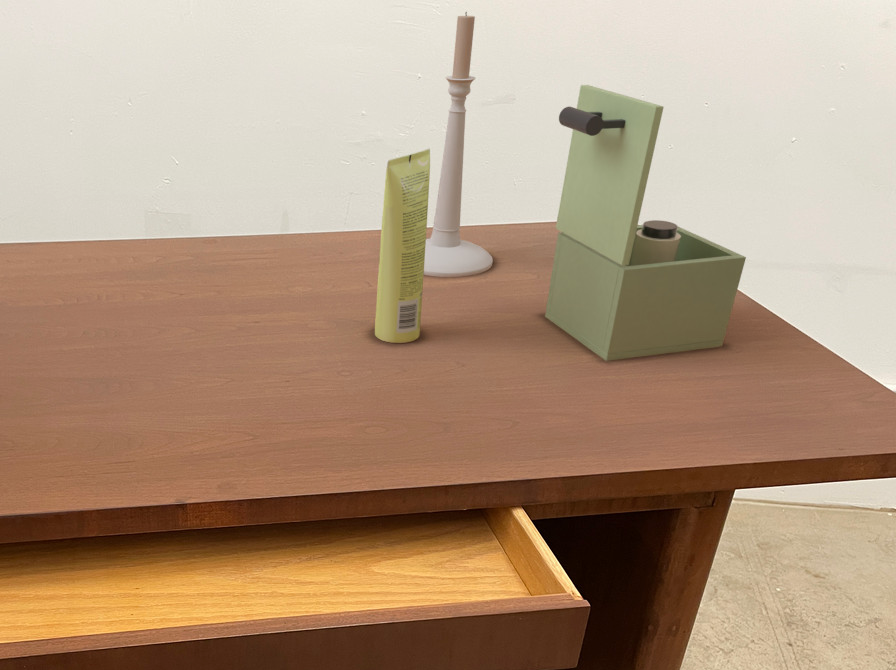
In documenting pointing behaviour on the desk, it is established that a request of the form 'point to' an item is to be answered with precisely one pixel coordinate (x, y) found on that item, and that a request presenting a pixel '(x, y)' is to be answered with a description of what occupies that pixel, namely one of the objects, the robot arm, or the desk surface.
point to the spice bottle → (655, 243)
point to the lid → (607, 169)
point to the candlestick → (455, 176)
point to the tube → (403, 248)
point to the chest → (644, 298)
